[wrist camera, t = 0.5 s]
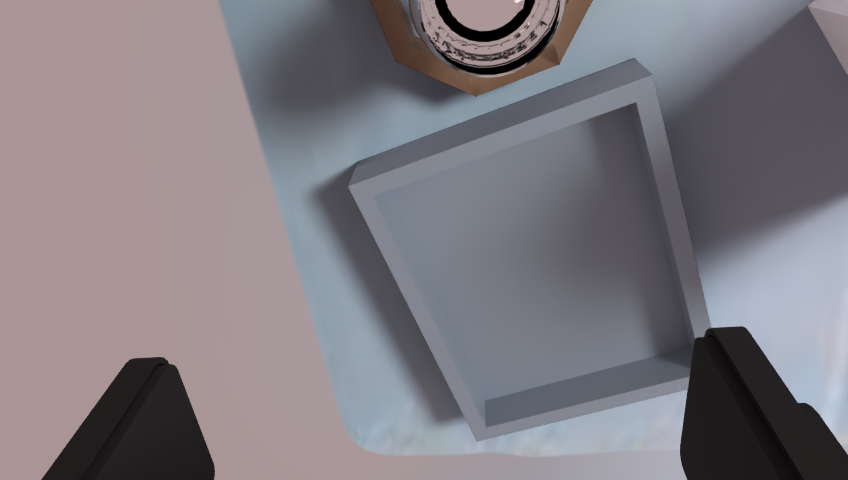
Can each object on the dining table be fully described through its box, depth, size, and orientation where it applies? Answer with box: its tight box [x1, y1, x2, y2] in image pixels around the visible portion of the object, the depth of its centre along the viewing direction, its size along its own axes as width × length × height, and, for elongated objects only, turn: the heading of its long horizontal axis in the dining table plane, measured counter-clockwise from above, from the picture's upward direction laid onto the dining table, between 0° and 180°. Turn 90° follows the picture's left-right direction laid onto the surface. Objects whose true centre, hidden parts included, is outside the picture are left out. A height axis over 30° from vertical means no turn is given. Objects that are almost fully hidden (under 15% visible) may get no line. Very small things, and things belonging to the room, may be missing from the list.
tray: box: [348, 58, 711, 441], centre depth 36 cm, size 16×20×4 cm
